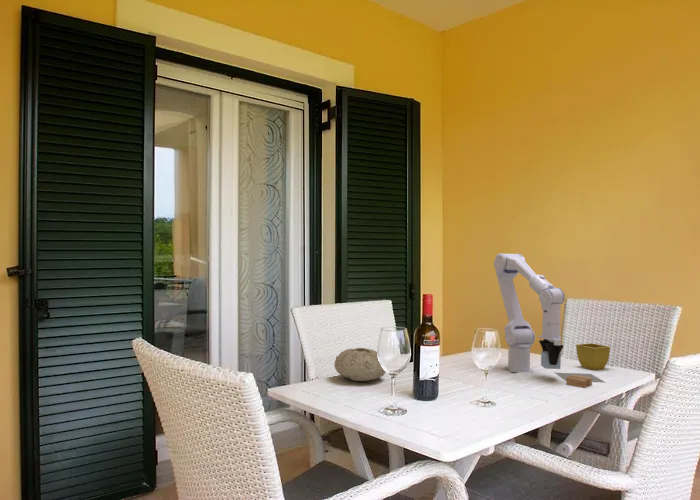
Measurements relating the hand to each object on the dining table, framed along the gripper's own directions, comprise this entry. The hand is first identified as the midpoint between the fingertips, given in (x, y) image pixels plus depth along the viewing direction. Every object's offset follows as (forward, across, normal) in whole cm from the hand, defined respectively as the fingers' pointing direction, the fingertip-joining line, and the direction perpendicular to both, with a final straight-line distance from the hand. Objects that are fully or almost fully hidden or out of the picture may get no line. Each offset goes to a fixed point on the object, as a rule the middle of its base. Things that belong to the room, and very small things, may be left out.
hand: (550, 362), depth 183 cm
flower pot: (+6, -21, +22) cm, 31 cm away
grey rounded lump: (+6, +8, -65) cm, 66 cm away
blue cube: (+2, 0, 0) cm, 2 cm away
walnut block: (+6, +7, +7) cm, 12 cm away
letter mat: (+6, -4, +11) cm, 13 cm away
